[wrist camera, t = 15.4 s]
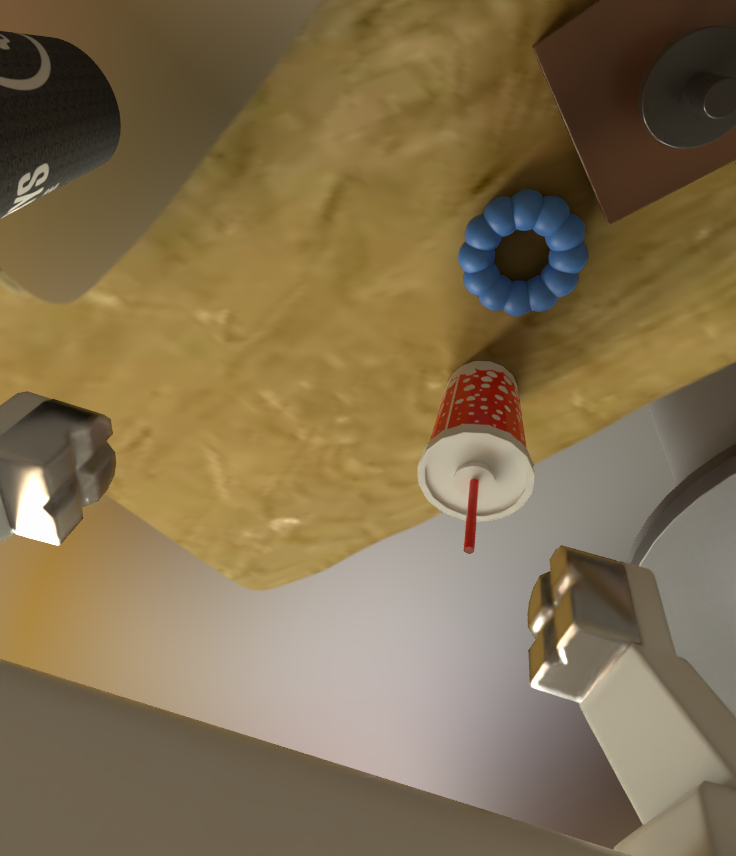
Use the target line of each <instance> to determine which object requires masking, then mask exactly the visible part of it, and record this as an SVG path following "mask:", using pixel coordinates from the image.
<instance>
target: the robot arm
mask: <svg viewBox="0 0 736 856" xmlns="http://www.w3.org/2000/svg"><path fill="white" fill-rule="evenodd" d="M112 434H113V431H112V425H111V419H110V418H108V417H107V416H105V415H103V414H100V413H97V412H94V411H90V410H87V409H84V408H81V407H78V406H74V405H71V404H68V403H65V402H62V401H58V400H55V399H50V398H47V397H43V396H40V395H37V394H34V393H31V392H28V391H27V392H22V393H17V394H16V395H14V396H13V397H12V398H10V399H9V400H8V401H6V402H5V403H4V404H2V405H1V406H0V542H1V541H3V540H5V539H7V538H9V537H11V536H12V533H14V534H18V535H21V536H25V537H29V538H33V539H36V540H40V541H44V542H48V543H51V544H55V545H60V544H61V543H62V542H63V541H64V540H65V539H66V538H67V536H68V535H69V534H70V533H71V532H72V531H73V530H74V528H75V527H76V526H77V525H78V524H79V523H80V521H81V520H82V519H83V509H82V507H84V506H87V505H89V504H92V503H94V502H97V501H99V499H100V498H101V497H102V496H103V495H104V493H105V492H106V491H107V490H108V488H109V485H110V483H111V481H112V479H113V477H114V474H115V467H116V457H115V452H114V451H113V449H112V448H111V447H110V445H109V444H108V443H107V441H106V440H107V439H108V438H109V437H110V436H111V435H112ZM550 570H551V571H550V572H547V573H545V574H543V575H540V576H539V578H538V580H537V582H536V584H535V586H534V588H533V591H532V594H531V598H530V601H529V606H528V628H529V630H530V631H531V633H532V635H533V636H534V638H535V639H536V640H535V641H534V643H533V644H532V646H531V647H530V649H529V650H528V651H529V675H530V676H529V677H530V687H533V688H536V689H539V690H542V691H545V692H548V693H551V694H554V695H557V696H560V697H563V698H566V699H569V700H572V701H575V702H579V703H581V704H580V705H579V706H580V708H581V710H582V712H583V714H584V716H585V718H586V719H587V721H588V723H589V725H590V727H591V729H592V731H593V732H594V734H595V736H596V738H597V740H598V742H599V744H600V745H601V747H602V749H603V751H604V753H605V755H606V757H607V758H608V760H609V762H610V764H611V766H612V768H613V770H614V772H615V773H616V775H617V777H618V779H619V781H620V783H621V784H622V787H623V788H624V790H625V792H626V794H627V796H628V797H629V799H630V801H631V803H632V805H633V807H634V809H635V811H636V813H637V815H638V816H639V818H640V820H641V822H642V824H643V826H642V827H640V828H639V829H637V830H636V831H635V832H633V833H632V834H630V835H629V836H628V837H626V838H625V839H624V840H622V841H621V842H620V843H619V844H617V845H616V846H615V847H614V850H612V849H609V848H606V847H603V846H599V845H596V844H593V843H589V842H586V841H583V840H580V839H577V838H574V837H570V836H567V835H564V834H561V833H558V832H554V831H551V830H548V829H545V828H541V827H538V826H535V825H532V824H529V823H525V822H522V821H519V820H516V819H512V818H509V817H506V816H503V815H499V814H496V813H493V812H490V811H487V810H484V809H480V808H477V807H474V806H471V805H468V804H464V803H461V802H458V801H455V800H452V799H448V798H445V797H442V796H439V795H436V794H432V793H429V792H426V791H423V790H419V789H416V788H413V787H410V786H407V785H403V784H400V783H397V782H394V781H390V780H388V779H384V778H381V777H378V776H374V775H371V774H368V773H365V772H362V771H359V770H356V769H352V768H349V767H346V766H343V765H339V764H336V763H333V762H330V761H327V760H323V759H320V758H317V757H314V756H311V755H308V754H304V753H301V752H298V751H295V750H292V749H288V748H285V747H282V746H279V745H276V744H272V743H269V742H266V741H263V740H260V739H256V738H253V737H250V736H247V735H244V734H240V733H237V732H234V731H230V730H227V729H224V728H221V727H218V726H215V725H211V724H208V723H205V722H202V721H199V720H195V719H192V718H189V717H186V716H182V715H179V714H175V713H172V712H170V711H166V710H163V709H160V708H157V707H153V706H150V705H147V704H144V703H141V702H137V701H134V700H131V699H128V698H124V697H121V696H118V695H115V694H112V693H108V692H105V691H102V690H99V689H96V688H92V687H89V686H86V685H83V684H79V683H76V682H73V681H70V680H67V679H64V678H60V677H57V676H54V675H51V674H47V673H44V672H41V671H38V670H34V669H31V668H28V667H25V666H22V665H18V664H15V663H12V662H9V661H6V660H2V659H0V856H736V717H735V716H734V715H733V713H732V712H731V711H730V710H729V709H728V708H727V706H726V705H725V704H724V703H723V702H722V701H721V699H720V698H719V697H718V696H717V695H716V693H715V692H714V691H713V690H712V689H711V688H710V686H709V685H708V684H707V683H706V682H705V681H704V679H703V678H702V677H701V676H700V675H699V673H698V672H697V671H696V670H695V669H694V668H693V666H692V665H691V664H690V663H689V662H688V661H687V659H685V658H682V657H679V656H677V655H676V651H675V648H674V644H673V640H672V637H671V633H670V629H669V626H668V622H667V618H666V615H665V611H664V608H663V604H662V600H661V597H660V593H659V589H658V586H657V582H656V578H655V575H654V574H653V573H652V571H651V570H650V569H646V568H643V567H639V566H635V565H632V564H628V563H624V562H618V561H616V560H612V559H609V558H605V557H601V556H598V555H594V554H591V553H587V552H584V551H580V550H576V549H573V548H569V547H566V546H562V545H561V546H560V547H559V548H558V549H556V550H555V552H554V553H553V555H552V556H551V558H550Z"/></svg>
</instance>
